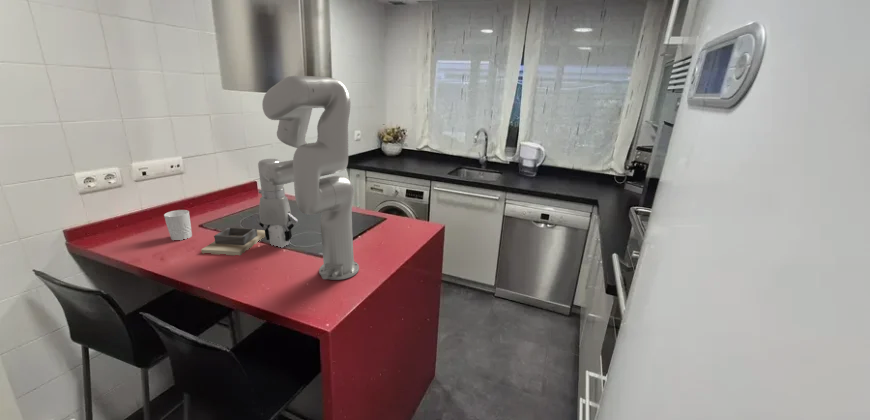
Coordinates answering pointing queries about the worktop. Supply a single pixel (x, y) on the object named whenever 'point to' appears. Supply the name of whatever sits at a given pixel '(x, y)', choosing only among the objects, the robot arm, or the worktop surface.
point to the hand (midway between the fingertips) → (278, 238)
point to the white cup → (178, 224)
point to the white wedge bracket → (277, 236)
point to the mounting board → (234, 241)
